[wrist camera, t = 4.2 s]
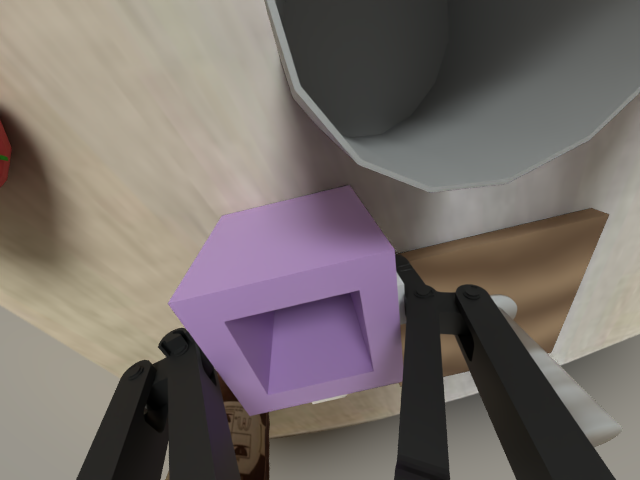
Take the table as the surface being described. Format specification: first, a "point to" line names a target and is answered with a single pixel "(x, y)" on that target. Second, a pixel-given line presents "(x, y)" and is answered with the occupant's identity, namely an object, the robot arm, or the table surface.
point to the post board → (525, 294)
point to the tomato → (4, 155)
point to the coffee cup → (247, 437)
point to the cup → (458, 80)
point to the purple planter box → (296, 302)
